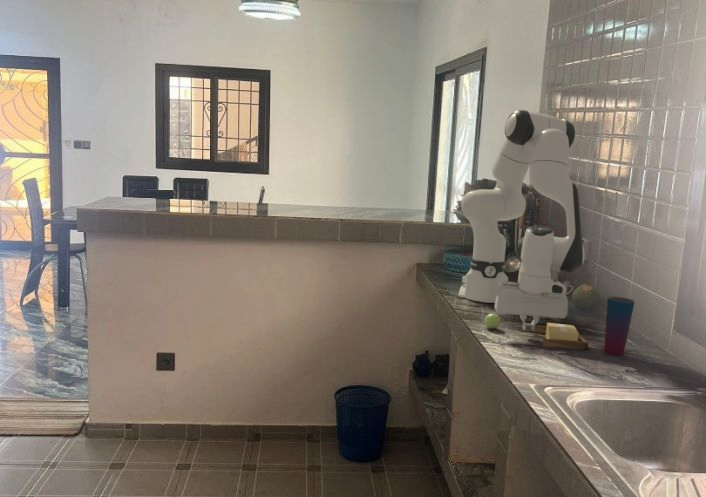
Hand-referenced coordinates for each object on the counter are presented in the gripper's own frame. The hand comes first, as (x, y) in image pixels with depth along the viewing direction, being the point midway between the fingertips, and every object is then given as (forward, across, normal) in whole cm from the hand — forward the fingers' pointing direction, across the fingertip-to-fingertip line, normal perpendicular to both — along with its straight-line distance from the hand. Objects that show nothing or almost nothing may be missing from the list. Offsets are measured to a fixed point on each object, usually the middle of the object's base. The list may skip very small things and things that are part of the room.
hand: (528, 330), depth 185 cm
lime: (+2, -9, +6) cm, 11 cm away
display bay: (+2, +8, 0) cm, 8 cm away
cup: (+2, +22, -8) cm, 24 cm away
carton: (+2, +9, -2) cm, 10 cm away
